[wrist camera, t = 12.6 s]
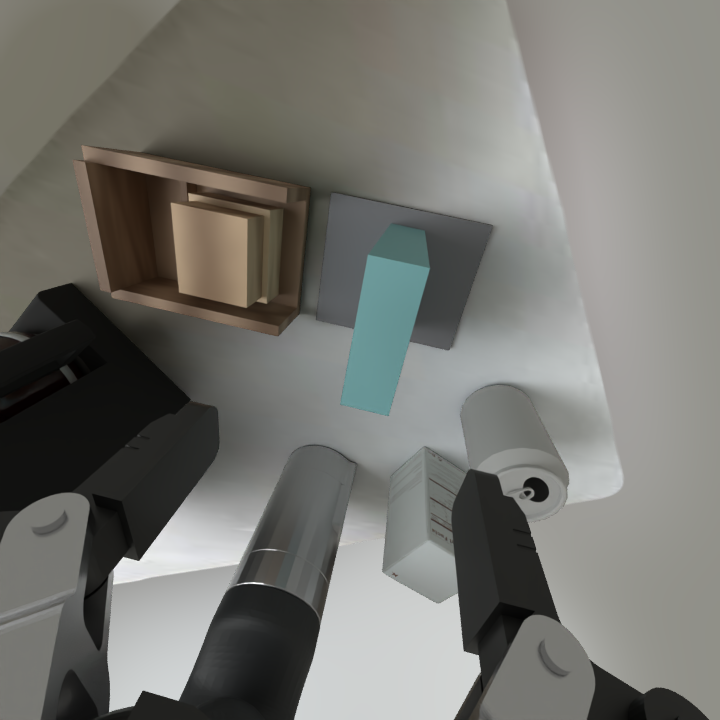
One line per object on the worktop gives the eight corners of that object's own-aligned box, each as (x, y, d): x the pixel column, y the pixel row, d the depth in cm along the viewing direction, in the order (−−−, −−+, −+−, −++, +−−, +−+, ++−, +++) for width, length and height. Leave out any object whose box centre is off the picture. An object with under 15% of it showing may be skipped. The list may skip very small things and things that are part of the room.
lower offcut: (283, 208, 29) (270, 210, 27) (278, 294, 33) (266, 303, 30) (208, 192, 30) (188, 193, 27) (212, 279, 33) (194, 287, 31)
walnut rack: (310, 187, 29) (282, 188, 23) (299, 313, 35) (273, 341, 29) (140, 152, 30) (68, 143, 24) (156, 281, 36) (102, 300, 30)
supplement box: (432, 503, 45) (437, 606, 34) (389, 475, 44) (378, 573, 33) (471, 474, 41) (490, 579, 30) (425, 443, 40) (427, 541, 29)
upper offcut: (264, 215, 27) (247, 219, 24) (261, 297, 30) (246, 307, 28) (194, 200, 27) (170, 202, 25) (199, 283, 31) (179, 292, 28)
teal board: (424, 230, 29) (430, 268, 16) (400, 324, 33) (388, 416, 20) (390, 223, 29) (367, 254, 16) (371, 318, 33) (340, 404, 20)
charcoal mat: (491, 225, 28) (492, 225, 28) (448, 347, 34) (449, 350, 33) (332, 192, 29) (331, 192, 28) (317, 317, 35) (316, 320, 34)
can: (538, 425, 37) (587, 522, 26) (471, 442, 39) (491, 536, 29) (520, 371, 34) (566, 453, 23) (449, 392, 36) (462, 476, 26)
